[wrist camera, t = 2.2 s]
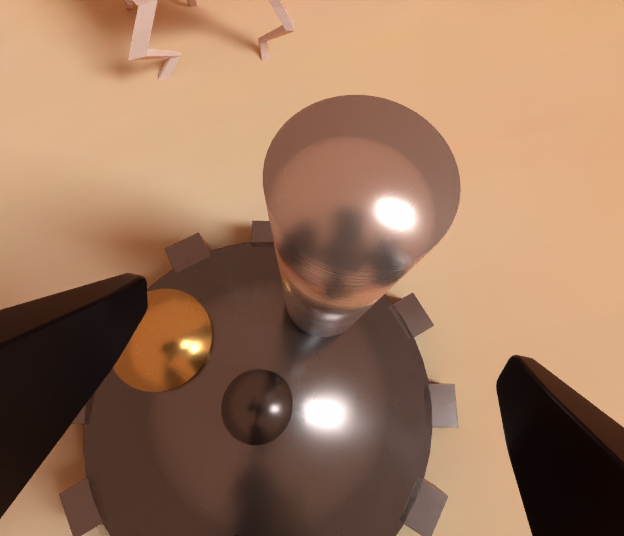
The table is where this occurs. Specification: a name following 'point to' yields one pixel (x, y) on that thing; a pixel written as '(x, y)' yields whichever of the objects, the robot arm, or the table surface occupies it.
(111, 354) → the robot arm
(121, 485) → the sprocket plate
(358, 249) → the drive pin
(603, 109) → the table surface
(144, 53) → the origami figure
